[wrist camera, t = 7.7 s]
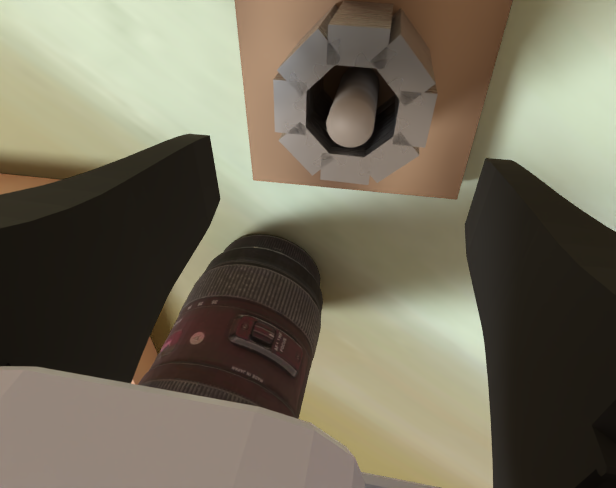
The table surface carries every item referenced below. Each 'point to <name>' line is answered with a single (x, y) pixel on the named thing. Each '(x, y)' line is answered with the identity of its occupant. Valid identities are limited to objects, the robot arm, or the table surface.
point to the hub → (317, 103)
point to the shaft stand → (374, 88)
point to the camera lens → (246, 328)
